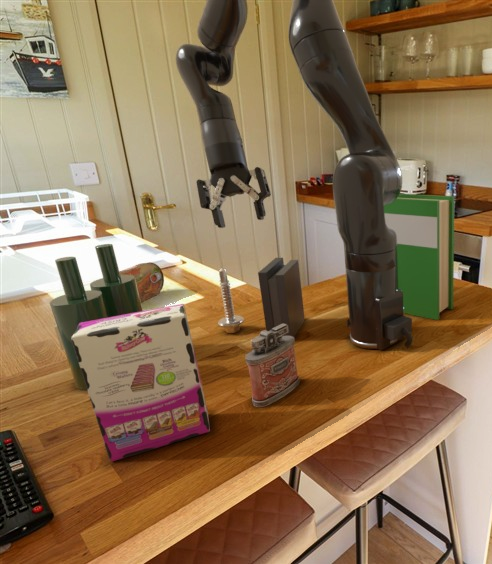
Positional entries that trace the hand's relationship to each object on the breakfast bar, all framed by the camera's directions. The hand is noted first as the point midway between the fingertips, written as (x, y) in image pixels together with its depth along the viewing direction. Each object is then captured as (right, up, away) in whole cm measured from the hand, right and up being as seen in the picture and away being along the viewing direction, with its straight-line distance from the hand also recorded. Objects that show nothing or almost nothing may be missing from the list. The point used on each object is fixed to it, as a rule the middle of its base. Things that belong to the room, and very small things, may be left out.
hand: (241, 223), depth 89 cm
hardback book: (+36, -18, +5) cm, 40 cm away
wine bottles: (-15, -27, -17) cm, 35 cm away
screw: (0, -22, -5) cm, 23 cm away
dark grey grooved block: (+11, -22, -5) cm, 25 cm away
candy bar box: (+3, -32, -35) cm, 48 cm away
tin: (-30, -17, +14) cm, 37 cm away
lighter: (+15, -29, -26) cm, 42 cm away
